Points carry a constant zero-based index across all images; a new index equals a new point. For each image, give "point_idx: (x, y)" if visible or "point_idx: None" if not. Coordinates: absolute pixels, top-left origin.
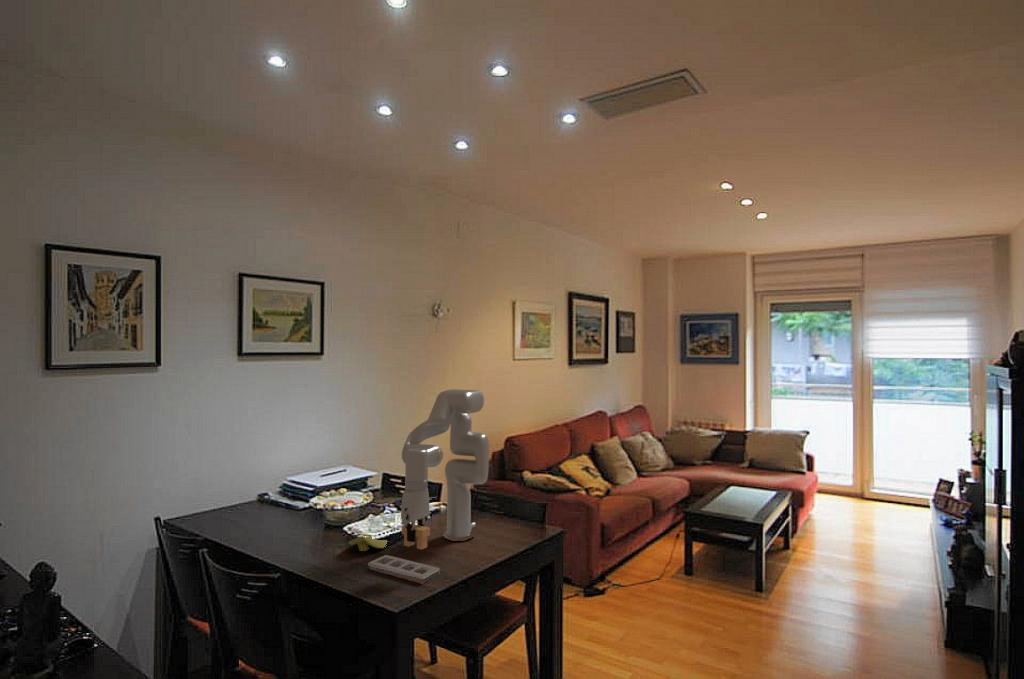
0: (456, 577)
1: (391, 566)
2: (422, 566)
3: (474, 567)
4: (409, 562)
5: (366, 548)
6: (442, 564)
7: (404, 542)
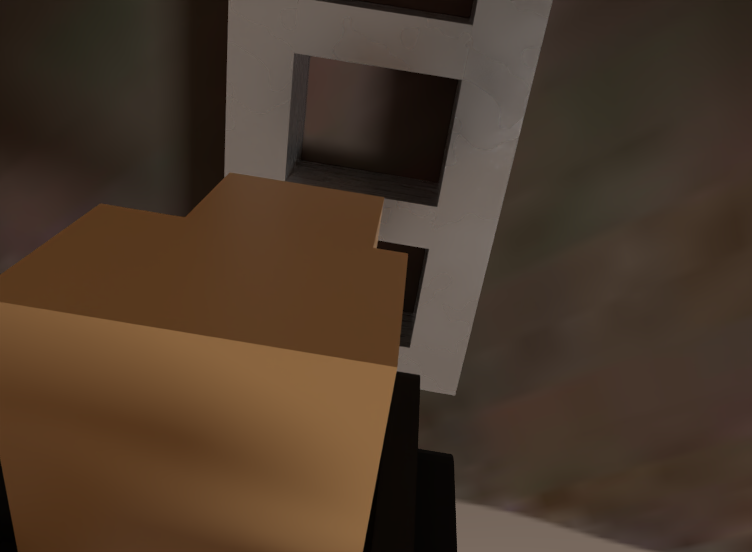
0: (465, 469)
1: None
2: (433, 248)
3: (693, 515)
4: (489, 59)
5: None
6: (709, 284)
7: (211, 198)
